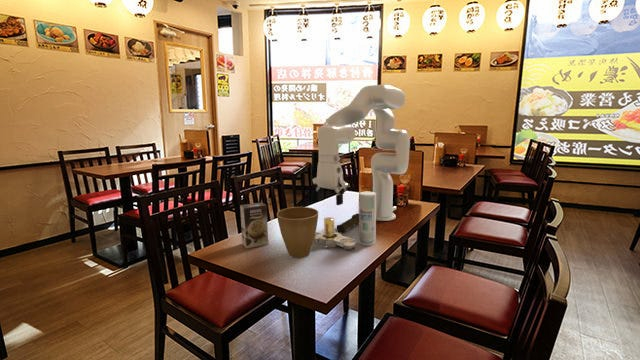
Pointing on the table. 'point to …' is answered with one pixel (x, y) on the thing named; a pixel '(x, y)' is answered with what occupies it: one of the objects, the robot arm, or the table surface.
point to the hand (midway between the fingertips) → (330, 202)
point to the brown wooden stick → (348, 224)
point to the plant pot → (298, 229)
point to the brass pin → (329, 227)
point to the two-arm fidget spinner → (335, 241)
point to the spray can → (367, 217)
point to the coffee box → (254, 224)
